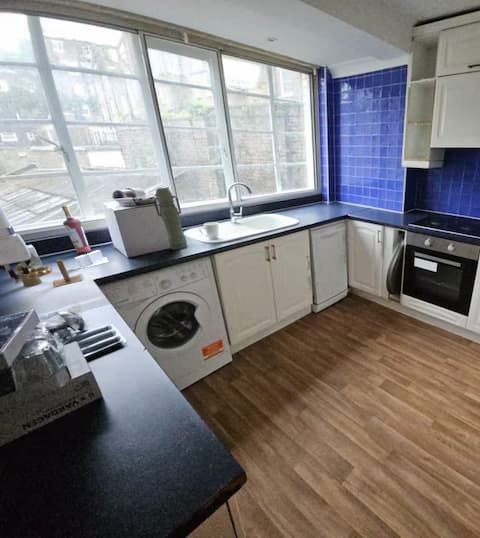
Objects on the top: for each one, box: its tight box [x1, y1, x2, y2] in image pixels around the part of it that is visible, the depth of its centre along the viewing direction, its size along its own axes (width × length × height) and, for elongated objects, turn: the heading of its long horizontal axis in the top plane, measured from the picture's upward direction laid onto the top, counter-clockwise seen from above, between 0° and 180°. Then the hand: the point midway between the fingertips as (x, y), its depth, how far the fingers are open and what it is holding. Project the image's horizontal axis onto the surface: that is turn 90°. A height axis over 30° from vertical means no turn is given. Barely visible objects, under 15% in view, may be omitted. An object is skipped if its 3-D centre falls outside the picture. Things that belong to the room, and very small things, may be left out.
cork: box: [14, 263, 43, 288], centre depth 131 cm, size 6×6×11 cm
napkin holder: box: [74, 249, 110, 268], centre depth 156 cm, size 15×11×6 cm
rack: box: [53, 259, 83, 288], centre depth 133 cm, size 9×9×11 cm
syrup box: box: [25, 244, 44, 273], centre depth 143 cm, size 6×6×14 cm
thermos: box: [152, 187, 188, 251], centre depth 172 cm, size 9×12×35 cm
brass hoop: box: [16, 265, 53, 280], centre depth 119 cm, size 10×10×2 cm
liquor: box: [61, 204, 92, 255], centre depth 169 cm, size 7×7×28 cm
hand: (21, 277), depth 116 cm, fingers closed on brass hoop, 2 cm apart
